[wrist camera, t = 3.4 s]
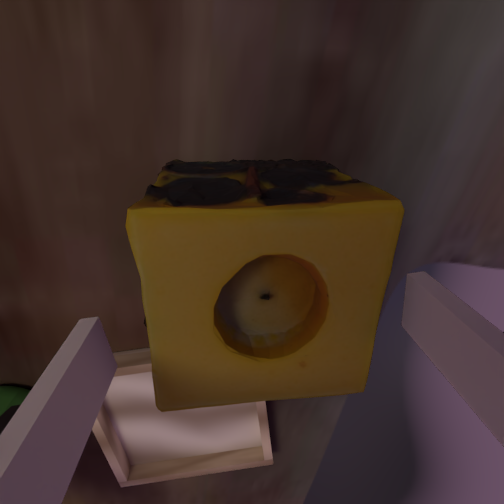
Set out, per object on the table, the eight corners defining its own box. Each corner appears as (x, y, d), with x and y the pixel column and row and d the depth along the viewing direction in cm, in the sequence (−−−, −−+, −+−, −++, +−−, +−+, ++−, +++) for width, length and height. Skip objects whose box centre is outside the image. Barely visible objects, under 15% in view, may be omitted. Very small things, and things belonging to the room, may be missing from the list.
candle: (179, 297, 23) (151, 417, 14) (163, 158, 19) (109, 205, 10) (312, 291, 24) (365, 402, 15) (326, 156, 20) (411, 198, 11)
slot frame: (75, 358, 25) (64, 375, 23) (256, 332, 25) (258, 348, 24) (126, 467, 31) (120, 487, 29) (270, 445, 31) (273, 464, 30)
